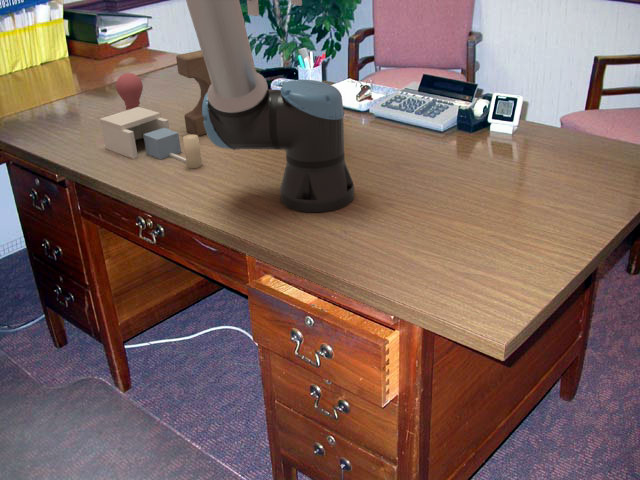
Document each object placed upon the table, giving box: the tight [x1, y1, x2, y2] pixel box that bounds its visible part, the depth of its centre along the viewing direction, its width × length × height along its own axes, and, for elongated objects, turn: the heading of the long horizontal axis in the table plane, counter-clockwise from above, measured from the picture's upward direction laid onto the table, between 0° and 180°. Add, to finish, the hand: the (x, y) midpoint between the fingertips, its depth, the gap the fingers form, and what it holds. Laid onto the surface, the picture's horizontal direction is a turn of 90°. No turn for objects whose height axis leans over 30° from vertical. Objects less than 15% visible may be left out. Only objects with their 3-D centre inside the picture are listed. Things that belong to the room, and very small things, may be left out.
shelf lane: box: [99, 107, 171, 160], centre depth 175 cm, size 12×11×8 cm
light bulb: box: [115, 72, 144, 111], centre depth 196 cm, size 7×7×12 cm
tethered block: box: [143, 128, 203, 170], centre depth 167 cm, size 17×6×7 cm, turn 44°
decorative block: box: [175, 49, 212, 137], centre depth 181 cm, size 11×6×20 cm, turn 127°
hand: (275, 10), depth 159 cm, fingers open, 13 cm apart
